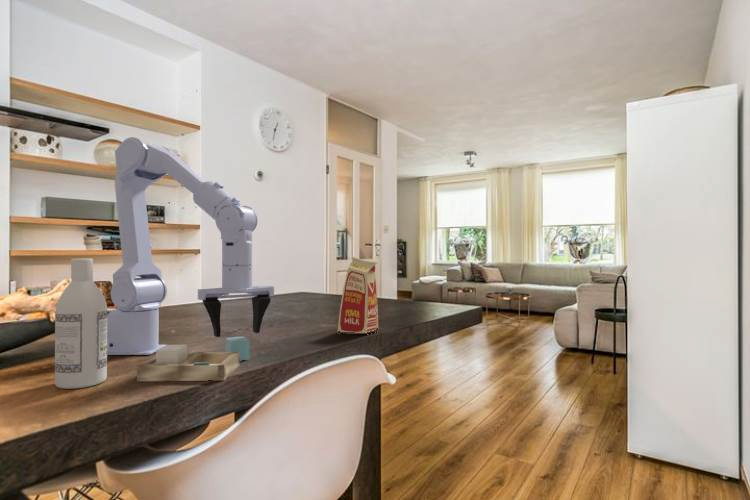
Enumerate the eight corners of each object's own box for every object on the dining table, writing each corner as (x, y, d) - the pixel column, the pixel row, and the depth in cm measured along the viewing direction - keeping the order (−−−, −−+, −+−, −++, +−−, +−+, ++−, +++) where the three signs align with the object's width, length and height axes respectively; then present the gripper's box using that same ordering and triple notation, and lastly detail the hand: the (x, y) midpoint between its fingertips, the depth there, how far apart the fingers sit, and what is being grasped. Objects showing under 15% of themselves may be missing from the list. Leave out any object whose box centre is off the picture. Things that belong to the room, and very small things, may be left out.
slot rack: (136, 381, 72) (137, 364, 72) (162, 366, 81) (162, 350, 81) (224, 380, 72) (224, 363, 72) (239, 365, 82) (239, 350, 82)
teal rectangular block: (249, 360, 86) (249, 340, 86) (231, 362, 84) (231, 341, 84) (241, 354, 91) (241, 335, 91) (223, 356, 89) (224, 337, 89)
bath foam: (98, 374, 75) (98, 258, 75) (113, 382, 71) (114, 258, 71) (49, 383, 70) (50, 258, 70) (62, 393, 66) (63, 259, 66)
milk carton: (337, 333, 114) (337, 256, 114) (352, 327, 123) (352, 256, 123) (369, 335, 111) (370, 256, 111) (382, 329, 120) (383, 256, 120)
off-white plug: (177, 374, 74) (177, 350, 74) (155, 374, 74) (156, 350, 74) (189, 365, 80) (190, 343, 80) (170, 365, 80) (170, 343, 80)
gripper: (203, 267, 80) (203, 341, 80) (279, 265, 88) (279, 333, 88) (195, 266, 86) (195, 335, 86) (267, 264, 94) (267, 328, 94)
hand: (237, 334), depth 87 cm, fingers open, 7 cm apart
